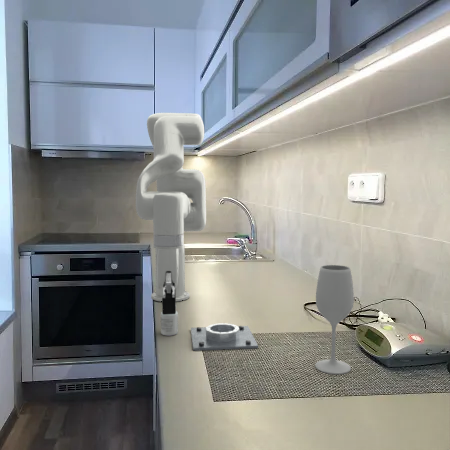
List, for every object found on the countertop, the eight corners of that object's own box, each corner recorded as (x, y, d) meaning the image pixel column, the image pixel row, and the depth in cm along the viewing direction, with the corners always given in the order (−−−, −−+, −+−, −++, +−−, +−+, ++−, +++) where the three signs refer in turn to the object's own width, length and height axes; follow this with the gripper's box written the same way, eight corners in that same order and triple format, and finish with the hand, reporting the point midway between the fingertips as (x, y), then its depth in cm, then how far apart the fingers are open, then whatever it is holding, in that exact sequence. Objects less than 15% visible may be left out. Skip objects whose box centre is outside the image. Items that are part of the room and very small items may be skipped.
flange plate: (190, 329, 121) (190, 325, 120) (247, 328, 122) (247, 324, 122) (193, 350, 106) (193, 346, 106) (258, 348, 107) (258, 343, 107)
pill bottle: (169, 329, 121) (169, 300, 120) (181, 332, 118) (181, 303, 118) (157, 333, 118) (156, 303, 117) (169, 337, 115) (168, 306, 114)
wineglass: (345, 360, 100) (348, 264, 98) (356, 374, 93) (359, 271, 91) (310, 360, 100) (312, 264, 98) (319, 374, 92) (321, 271, 91)
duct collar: (205, 331, 117) (205, 323, 117) (236, 330, 118) (236, 322, 118) (207, 342, 109) (207, 334, 109) (241, 341, 110) (241, 332, 110)
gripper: (154, 238, 124) (155, 301, 125) (151, 245, 107) (152, 318, 108) (183, 238, 125) (183, 300, 126) (184, 245, 108) (184, 317, 109)
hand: (169, 309), depth 117 cm, fingers open, 9 cm apart
